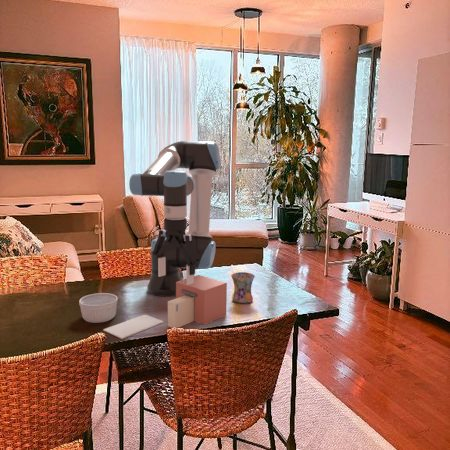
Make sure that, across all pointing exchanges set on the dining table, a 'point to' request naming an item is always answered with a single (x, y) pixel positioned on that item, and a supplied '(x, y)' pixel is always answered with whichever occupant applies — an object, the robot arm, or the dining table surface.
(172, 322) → the cream white block
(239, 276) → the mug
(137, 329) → the mat
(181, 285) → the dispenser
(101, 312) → the ramekin
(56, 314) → the dining table surface
